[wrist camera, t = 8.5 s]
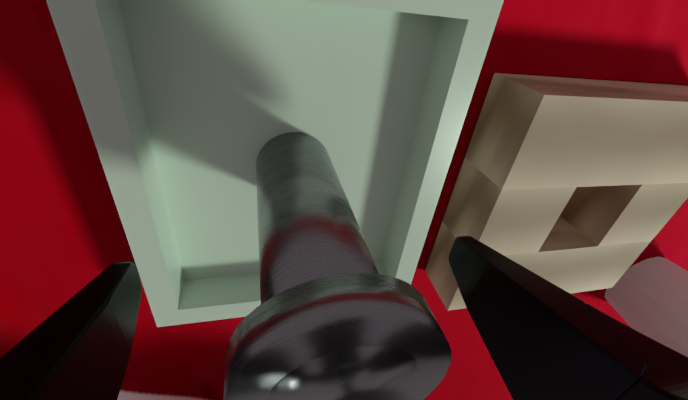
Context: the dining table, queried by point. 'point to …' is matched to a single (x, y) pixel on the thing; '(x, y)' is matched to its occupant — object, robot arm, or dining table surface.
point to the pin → (326, 297)
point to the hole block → (567, 178)
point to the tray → (267, 123)
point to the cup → (654, 301)
